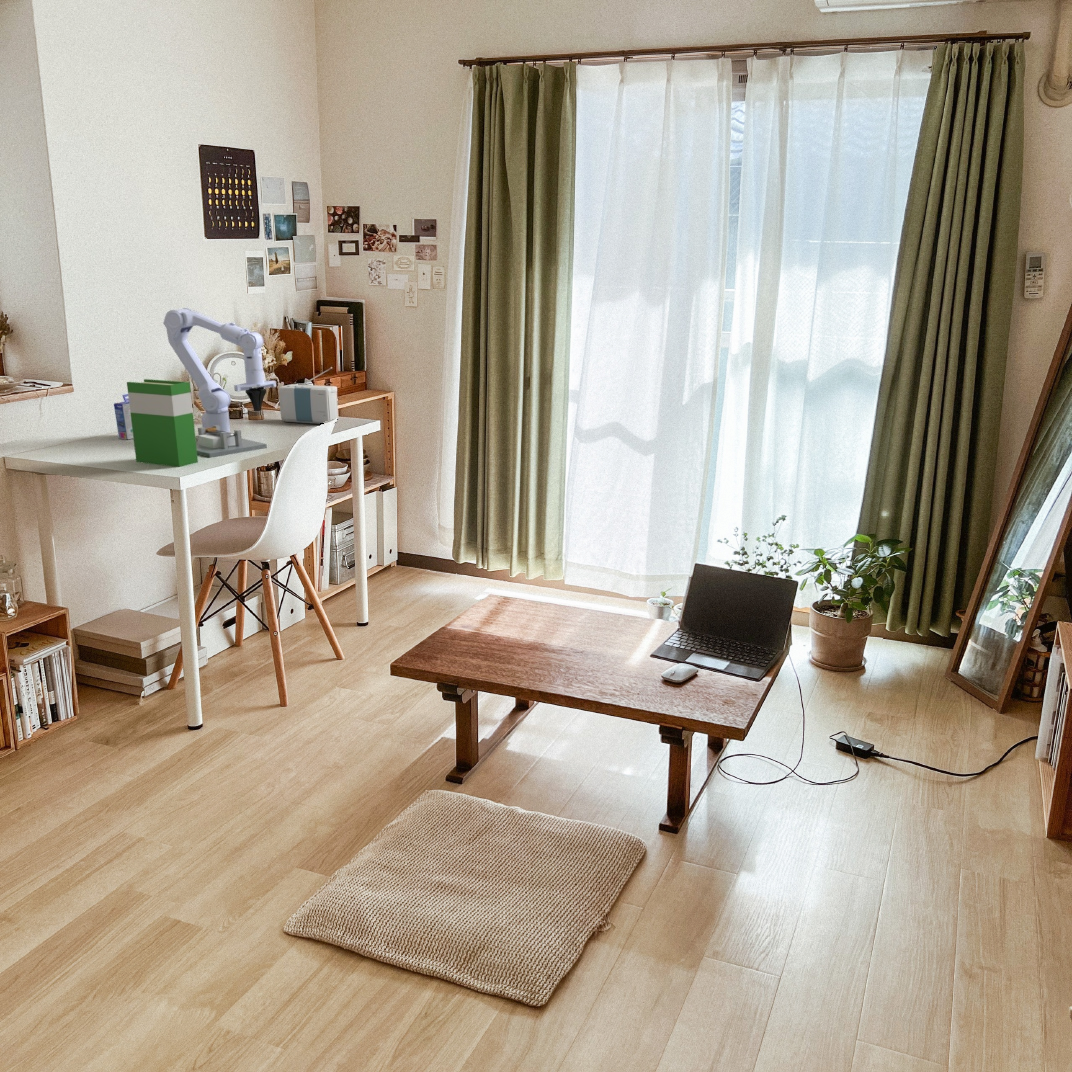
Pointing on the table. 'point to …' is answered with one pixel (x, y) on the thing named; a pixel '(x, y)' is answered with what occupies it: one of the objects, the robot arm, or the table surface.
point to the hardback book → (162, 422)
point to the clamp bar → (218, 432)
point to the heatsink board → (223, 443)
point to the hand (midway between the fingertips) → (257, 410)
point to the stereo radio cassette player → (308, 403)
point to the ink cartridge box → (123, 419)
